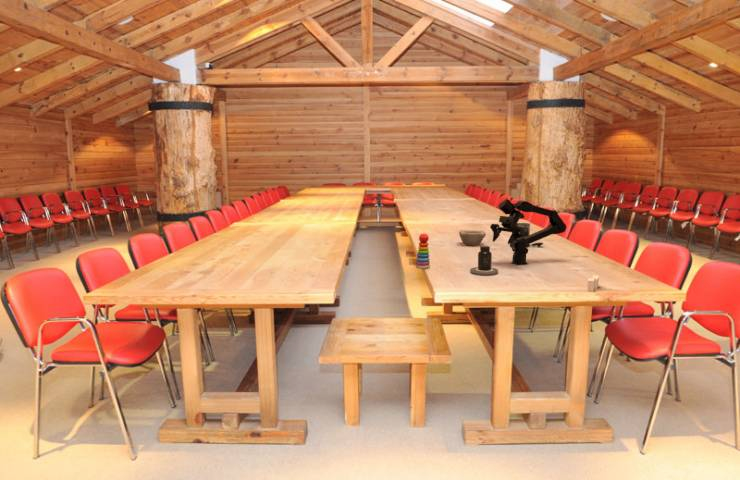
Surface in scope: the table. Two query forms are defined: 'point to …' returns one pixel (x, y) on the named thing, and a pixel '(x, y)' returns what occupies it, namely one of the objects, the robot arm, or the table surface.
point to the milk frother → (528, 232)
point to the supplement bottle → (484, 258)
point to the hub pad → (483, 272)
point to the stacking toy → (423, 253)
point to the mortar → (471, 237)
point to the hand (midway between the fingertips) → (500, 242)
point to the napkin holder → (593, 283)
